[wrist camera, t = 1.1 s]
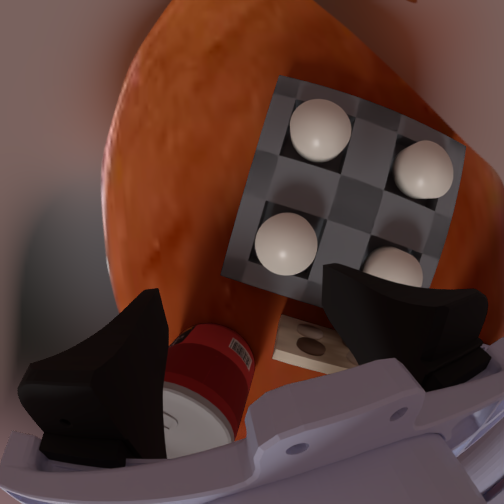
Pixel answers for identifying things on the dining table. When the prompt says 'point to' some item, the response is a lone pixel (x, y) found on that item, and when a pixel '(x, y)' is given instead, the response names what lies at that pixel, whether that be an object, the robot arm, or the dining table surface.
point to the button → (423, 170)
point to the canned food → (205, 388)
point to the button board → (339, 193)
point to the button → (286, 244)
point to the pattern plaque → (311, 346)
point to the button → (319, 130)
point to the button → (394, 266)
